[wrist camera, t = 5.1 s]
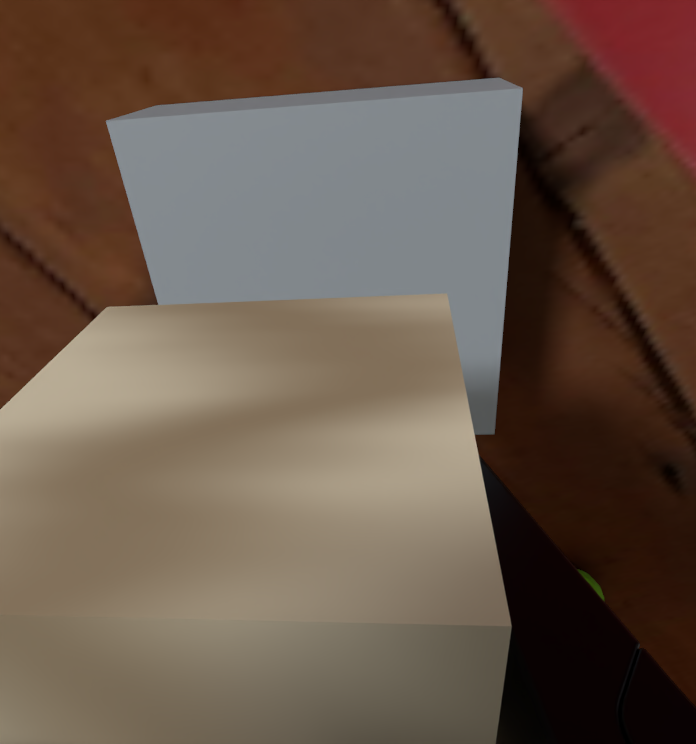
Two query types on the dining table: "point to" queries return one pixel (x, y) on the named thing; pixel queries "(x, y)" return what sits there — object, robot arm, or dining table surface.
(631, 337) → the dining table surface
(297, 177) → the base
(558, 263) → the dining table surface
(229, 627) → the cube
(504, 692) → the robot arm
